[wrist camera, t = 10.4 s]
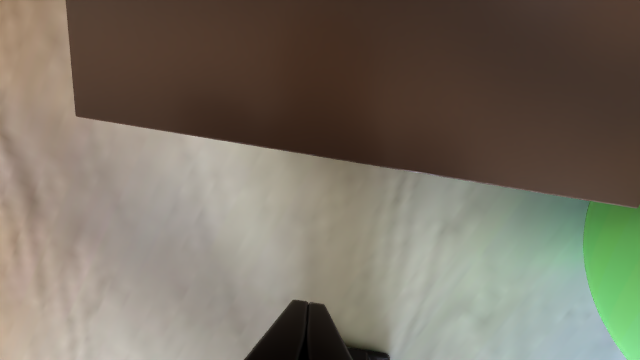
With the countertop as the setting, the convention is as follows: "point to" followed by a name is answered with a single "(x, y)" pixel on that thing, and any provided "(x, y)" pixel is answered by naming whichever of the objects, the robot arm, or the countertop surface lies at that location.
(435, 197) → the countertop surface
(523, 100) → the cupboard
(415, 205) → the countertop surface
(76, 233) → the countertop surface
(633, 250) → the toy bird
